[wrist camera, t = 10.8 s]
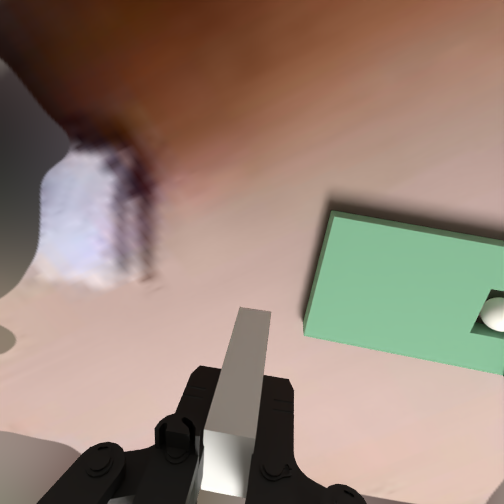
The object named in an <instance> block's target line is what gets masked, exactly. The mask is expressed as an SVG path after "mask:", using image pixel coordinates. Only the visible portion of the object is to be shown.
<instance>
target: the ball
mask: <svg viewBox="0 0 504 504" xmlns="http://www.w3.org/2000/svg"><path fill="white" fill-rule="evenodd" d="M480 316H481V319H482V321H483V322H484V323H485V324H486V325H487V326H488V327H489V328H491V329H493V330H496V331H501V332H504V298H501V297H497V298H492V299H489V300H487V301H486V302H485V303H484V305H483V307H482V309H481V311H480Z"/></svg>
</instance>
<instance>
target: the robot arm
mask: <svg viewBox="0 0 504 504" xmlns="http://www.w3.org/2000/svg"><path fill="white" fill-rule="evenodd" d="M270 318H271V312H270V311H263V310H256V309H249V308H243V307H240V308H239V312H238V315H237V318H236V322H235V325H234V329H233V332H232V335H231V339H230V342H229V346H228V349H227V352H226V356H225V359H224V363H223V366H222V369H218V368H212V367H206V366H199V367H198V368H197V369H196V370H195V371H194V372H193V373H192V374H191V375H190V378H189V380H188V383H187V386H186V388H185V390H184V393H183V396H182V397H181V400H180V402H179V405H178V407H177V410H176V412H175V413H174V414H171V415H168V416H166V417H165V418H163V419H162V420H161V421H159V423H158V424H157V426H156V427H155V445H153V446H151V447H149V448H145V449H141V450H134V451H127V452H124V451H123V448H121V447H120V446H119V445H118V444H116V443H111V442H104V443H99V444H97V445H94V446H92V447H90V448H89V449H88V450H86V451H85V452H84V453H83V454H82V455H81V456H80V457H79V458H78V459H77V460H76V461H75V462H74V463H73V464H72V466H71V467H70V468H69V469H68V470H67V471H66V472H65V473H64V474H63V475H62V476H61V477H60V479H59V480H58V481H57V482H56V483H55V484H54V485H53V486H52V487H51V488H50V489H49V491H48V492H47V493H46V494H45V495H44V496H43V497H42V498H41V499H40V500H39V501H38V503H37V504H197V497H198V494H199V490H200V486H201V489H202V490H207V491H212V492H218V493H222V494H227V495H233V496H238V497H243V498H246V501H245V504H366V502H365V500H364V498H363V497H362V496H361V495H360V494H359V493H358V492H357V491H356V490H354V489H352V488H351V487H349V486H347V485H342V484H335V485H331V486H329V487H328V488H325V487H323V486H322V485H320V484H318V483H316V482H314V481H313V480H311V479H310V478H308V477H307V476H306V475H305V474H304V473H303V472H302V471H301V470H300V469H299V467H298V465H297V464H296V461H295V458H294V390H293V387H292V385H291V383H290V381H289V379H284V378H278V377H272V376H266V375H263V374H264V366H265V358H266V350H267V342H268V334H269V326H270Z"/></svg>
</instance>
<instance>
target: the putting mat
mask: <svg viewBox="0 0 504 504" xmlns="http://www.w3.org/2000/svg"><path fill="white" fill-rule="evenodd" d="M491 289H494V290H500V291H504V241H503V240H497V239H492V238H486V237H481V236H475V235H469V234H464V233H458V232H452V231H447V230H441V229H435V228H430V227H424V226H419V225H413V224H407V223H402V222H396V221H390V220H385V219H379V218H373V217H368V216H362V215H357V214H351V213H345V212H340V211H334V210H331V213H330V217H329V221H328V225H327V229H326V233H325V237H324V241H323V245H322V249H321V253H320V257H319V261H318V265H317V269H316V273H315V277H314V281H313V285H312V289H311V293H310V297H309V301H308V305H307V309H306V313H305V317H304V321H303V331H304V336H308V337H313V338H318V339H323V340H328V341H333V342H338V343H343V344H348V345H353V346H358V347H363V348H368V349H373V350H378V351H383V352H388V353H393V354H398V355H403V356H408V357H413V358H418V359H423V360H428V361H433V362H438V363H443V364H448V365H454V366H459V367H464V368H469V369H474V370H479V371H484V372H489V373H494V374H499V375H503V376H504V332H501V331H496V330H493V329H491V328H489V327H488V326H487V325H486V324H482V323H477V322H475V321H476V319H477V317H478V315H479V313H480V311H481V309H482V307H483V305H484V303H485V301H486V299H487V296H488V294H489V292H490V290H491Z"/></svg>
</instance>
